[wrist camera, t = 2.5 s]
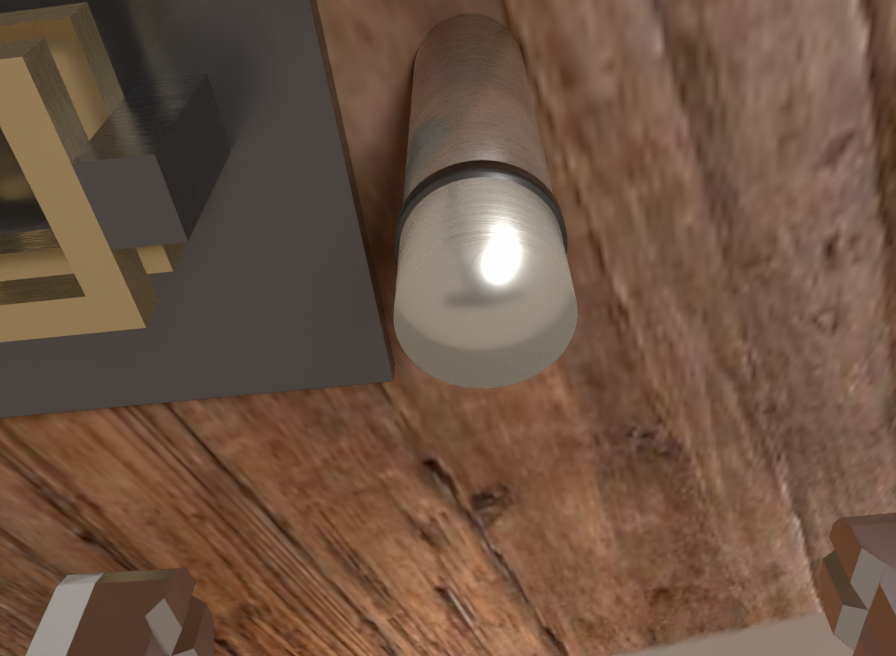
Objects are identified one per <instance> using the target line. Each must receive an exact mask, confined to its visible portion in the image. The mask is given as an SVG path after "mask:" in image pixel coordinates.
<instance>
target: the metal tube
mask: <svg viewBox="0 0 896 656" xmlns="http://www.w3.org/2000/svg"><path fill="white" fill-rule="evenodd" d="M394 252H395V260H396V264H397V267H398V268H397V280H396V292H395V304H394V328H395V332H396V336H397V339H398V341H399V343H400V345H401V347H402V349H403V350H404V352H405V353H406V355H407V356H408V357H409V358H410V359H411V360H412V362H413V363H414V364H416V365H417V366H418V367H419V368H420V369H422V370H423V371H425V372H426V373H428V374H429V375H431V376H433V377H435V378H437V379H439V380H442V381H444V382H447V383H450V384H454V385H458V386H463V387H469V388H496V387H503V386H508V385H512V384H516V383H519V382H521V381H524V380H527V379H529V378H531V377H533V376H535V375H537V374H539V373H540V372H542V371H544V370H545V369H546V368H548V367H549V366H550V365H552V364H553V363H554V362H555V361H556V360H557V359H558V358H559V357H560V356H561V355H562V353H563V352H564V351H565V349H566V348H567V346H568V345H569V343H570V341H571V339H572V337H573V334H574V332H575V328H576V324H577V313H578V311H577V302H576V298H575V293H574V289H573V284H572V280H571V275H570V270H569V266H568V261H567V257H566V254H567V233H566V228H565V224H564V219H563V216H562V212H561V209H560V206H559V204H558V202H557V200H556V198H555V197H554V195H553V193H552V189H551V184H550V180H549V175H548V171H547V166H546V161H545V157H544V152H543V148H542V143H541V139H540V134H539V130H538V125H537V121H536V116H535V112H534V107H533V102H532V98H531V93H530V89H529V84H528V80H527V75H526V71H525V66H524V62H523V57H522V53H521V49H520V47H519V45H518V42H517V41H516V39H515V37H514V36H513V35H512V33H511V32H510V31H509V30H508V29H507V28H506V27H505V26H504V25H502V24H501V23H499V22H498V21H496V20H494V19H492V18H490V17H487V16H484V15H479V14H460V15H455V16H452V17H449V18H447V19H445V20H443V21H441V22H440V23H438V24H437V25H435V26H434V27H433V28H432V29H431V30H430V31H429V32H428V33H427V34H426V35H425V37H424V38H423V40H422V41H421V43H420V46H419V48H418V50H417V53H416V57H415V63H414V75H413V87H412V100H411V112H410V124H409V136H408V148H407V160H406V172H405V184H404V196H403V206H402V207H401V210H400V213H399V215H398V219H397V224H396V231H395V244H394Z"/></svg>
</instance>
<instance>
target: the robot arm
mask: <svg viewBox="0 0 896 656" xmlns="http://www.w3.org/2000/svg"><path fill="white" fill-rule="evenodd" d="M829 537H830V540H831V542H832V544H833V546H834V548H835V550H834V551H833V552H831V553H830V554H829V555H827V556H826V557H825V558H824V559H823V560H822V565H821V570H820V574H819V582H820V594H821V600H822V604H823V607H824V611H825V615H826V617H827V620H828V622H829V625H830V627H831V630H832V632H833V635H835V636H836V637H837V638H838V639H839V640H841V641H842V642H843V643H844V644H846V645H847V646H848V647H849V648H851V649H852V650H853V651H854V653H853V656H896V513H888V514H877V515H866V516H855V517H844V518H839V519H838V520H837V521H835V522H834V523H833V525H832V529H831V532H830V535H829ZM194 585H195V582H194V580H193V579H192V577H191V575H190V574H189V572H188V570H187V569H186V568H177V569H159V570H141V571H124V572H102V573H88V574H74V575H67V576H66V577H65V578H64V579H63V580H62V582H61V583H60V584H59V585H58V586H57V587H56V589H55V591H54V593H53V595H52V598H51V600H50V602H49V604H48V606H47V609H46V611H45V613H44V615H43V617H42V620H41V622H40V624H39V626H38V628H37V631H36V633H35V635H34V637H33V639H32V642H31V644H30V646H29V648H28V650H27V653H26V655H25V656H213V655H214V636H215V629H214V624H213V619H212V615H211V612H210V610H209V608H208V606H207V604H206V603H205V602H203V601H201V600H200V599H198V598H196V597H194V596H192V592H193V589H194Z"/></svg>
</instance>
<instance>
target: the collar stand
mask: <svg viewBox="0 0 896 656" xmlns="http://www.w3.org/2000/svg"><path fill="white" fill-rule="evenodd" d="M394 366H395V363H394V358H393V354H392V349H391V344H390V340H389V335H388V330H387V326H386V321H385V316H384V312H383V307H382V303H381V298H380V293H379V289H378V284H377V279H376V275H375V270H374V265H373V261H372V256H371V252H370V247H369V242H368V238H367V233H366V228H365V224H364V219H363V214H362V210H361V205H360V200H359V196H358V191H357V187H356V182H355V177H354V173H353V168H352V163H351V159H350V154H349V149H348V145H347V140H346V136H345V131H344V126H343V122H342V117H341V112H340V108H339V103H338V98H337V94H336V89H335V85H334V80H333V75H332V71H331V66H330V61H329V57H328V52H327V47H326V43H325V38H324V34H323V29H322V24H321V20H320V15H319V10H318V6H317V1H316V0H0V418H3V417H14V416H24V415H35V414H46V413H57V412H68V411H78V410H89V409H100V408H111V407H121V406H132V405H143V404H154V403H164V402H175V401H186V400H197V399H208V398H218V397H229V396H240V395H251V394H261V393H272V392H283V391H294V390H305V389H315V388H326V387H337V386H348V385H358V384H369V383H380V382H391V381H393V380H394Z"/></svg>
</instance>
